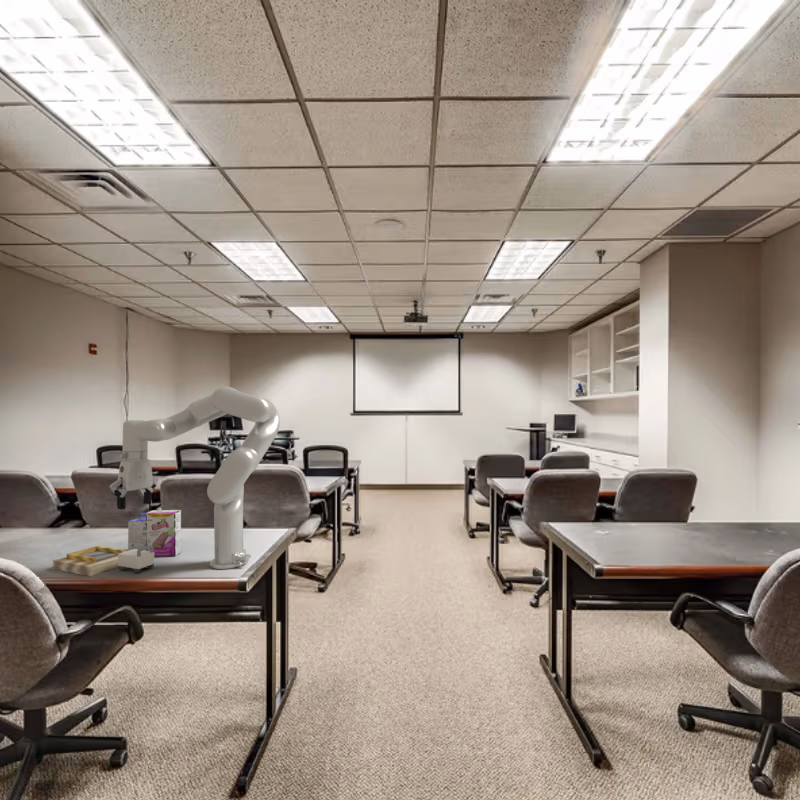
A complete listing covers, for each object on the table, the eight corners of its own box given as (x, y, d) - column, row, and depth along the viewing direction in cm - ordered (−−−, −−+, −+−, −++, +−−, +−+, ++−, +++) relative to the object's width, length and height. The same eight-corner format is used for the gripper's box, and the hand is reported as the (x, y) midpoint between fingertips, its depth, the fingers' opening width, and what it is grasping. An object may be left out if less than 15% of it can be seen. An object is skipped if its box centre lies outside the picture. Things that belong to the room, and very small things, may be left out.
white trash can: (154, 568, 164) (154, 544, 164) (138, 573, 158) (138, 549, 158) (134, 564, 168) (134, 541, 168) (118, 570, 162) (118, 546, 162)
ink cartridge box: (160, 549, 187) (160, 512, 187) (151, 553, 181) (151, 515, 181) (136, 548, 188) (136, 511, 188) (127, 553, 182) (127, 515, 183)
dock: (137, 560, 172) (137, 548, 172) (90, 576, 157) (90, 562, 157) (101, 555, 180) (101, 543, 180) (53, 569, 165) (53, 555, 165)
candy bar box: (145, 557, 176) (145, 512, 176) (152, 553, 181) (152, 510, 181) (175, 556, 176) (175, 512, 176) (181, 552, 181) (181, 509, 181)
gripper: (118, 458, 154) (118, 512, 154) (164, 454, 170) (164, 502, 170) (103, 458, 157) (102, 510, 157) (149, 453, 173) (149, 501, 173)
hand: (134, 506), depth 163 cm, fingers open, 9 cm apart
